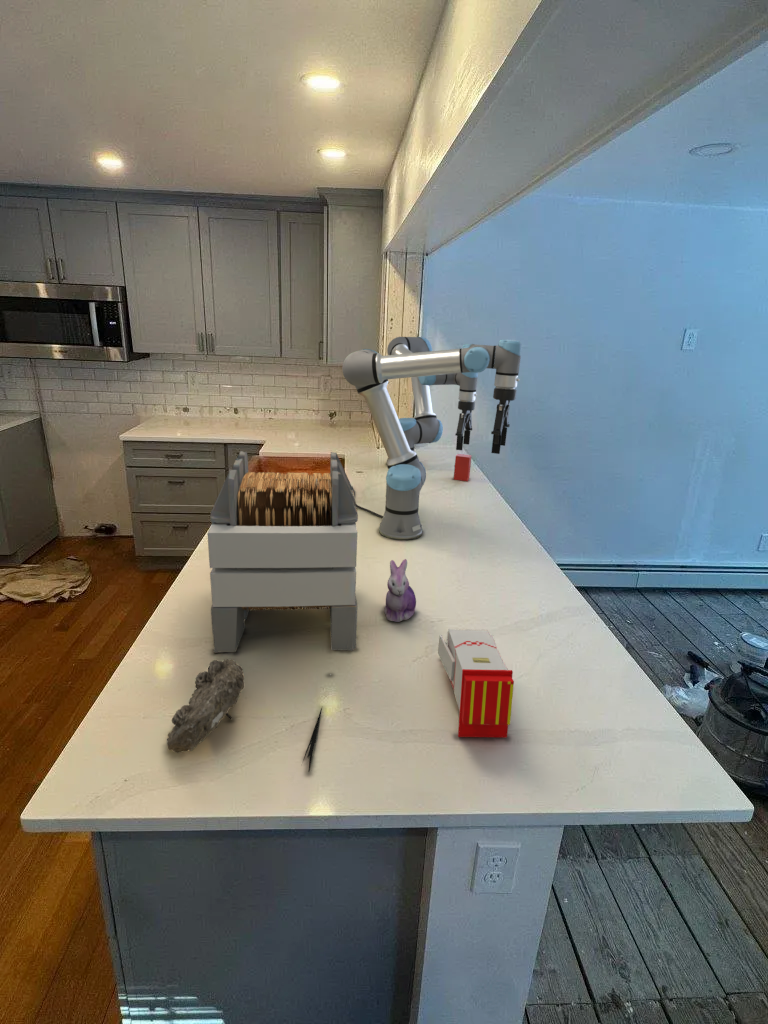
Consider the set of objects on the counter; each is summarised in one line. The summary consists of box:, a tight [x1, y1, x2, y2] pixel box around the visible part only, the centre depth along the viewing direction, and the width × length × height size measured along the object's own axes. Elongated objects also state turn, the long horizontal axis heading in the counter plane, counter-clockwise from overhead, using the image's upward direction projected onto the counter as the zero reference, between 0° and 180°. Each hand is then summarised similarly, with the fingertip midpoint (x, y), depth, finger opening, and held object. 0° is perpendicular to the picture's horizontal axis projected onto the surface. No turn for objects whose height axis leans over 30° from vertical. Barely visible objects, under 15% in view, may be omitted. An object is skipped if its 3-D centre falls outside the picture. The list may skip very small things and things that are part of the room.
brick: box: [453, 453, 473, 482], centre depth 267 cm, size 5×7×12 cm
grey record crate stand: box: [206, 450, 359, 654], centre depth 137 cm, size 34×33×41 cm
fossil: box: [166, 658, 245, 754], centre depth 106 cm, size 22×10×15 cm
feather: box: [301, 673, 332, 771], centre depth 108 cm, size 2×28×2 cm
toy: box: [437, 628, 515, 738], centre depth 117 cm, size 12×13×30 cm
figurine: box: [384, 558, 417, 623], centre depth 145 cm, size 9×10×15 cm
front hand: (498, 449), depth 199 cm, fingers open, 13 cm apart
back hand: (462, 447), depth 262 cm, fingers open, 13 cm apart
